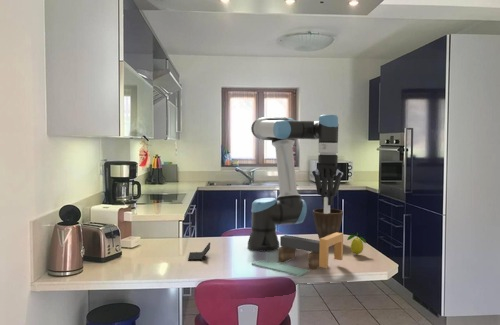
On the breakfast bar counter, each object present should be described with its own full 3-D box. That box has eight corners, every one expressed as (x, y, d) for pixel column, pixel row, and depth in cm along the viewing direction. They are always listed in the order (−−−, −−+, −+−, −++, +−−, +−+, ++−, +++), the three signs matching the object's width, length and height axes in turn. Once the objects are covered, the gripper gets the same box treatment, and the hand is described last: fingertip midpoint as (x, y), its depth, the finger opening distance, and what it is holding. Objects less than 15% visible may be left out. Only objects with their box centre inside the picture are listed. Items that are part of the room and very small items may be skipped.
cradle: (278, 261, 169) (278, 247, 168) (290, 256, 177) (291, 243, 176) (314, 269, 158) (314, 254, 158) (325, 263, 166) (326, 249, 166)
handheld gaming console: (185, 250, 179) (199, 233, 179) (197, 259, 181) (211, 242, 181) (187, 261, 168) (202, 243, 168) (200, 270, 170) (215, 252, 170)
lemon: (346, 254, 180) (347, 232, 179) (352, 252, 184) (352, 230, 184) (360, 257, 176) (361, 235, 175) (366, 254, 180) (366, 232, 180)
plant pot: (325, 247, 193) (326, 214, 192) (306, 240, 206) (307, 209, 205) (348, 243, 200) (349, 211, 200) (328, 237, 213) (329, 207, 213)
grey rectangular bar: (280, 245, 171) (280, 236, 171) (285, 244, 175) (285, 234, 174) (320, 253, 160) (320, 243, 160) (324, 251, 163) (324, 241, 163)
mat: (251, 264, 164) (251, 263, 164) (261, 260, 170) (261, 259, 170) (300, 276, 150) (300, 274, 150) (309, 271, 155) (309, 270, 155)
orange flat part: (319, 266, 154) (319, 238, 154) (335, 258, 166) (336, 232, 165) (326, 268, 152) (326, 239, 152) (342, 259, 164) (343, 233, 163)
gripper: (308, 153, 159) (307, 212, 161) (339, 154, 151) (337, 216, 153) (317, 153, 165) (316, 210, 167) (347, 154, 157) (346, 213, 159)
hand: (326, 213), depth 160 cm, fingers closed
